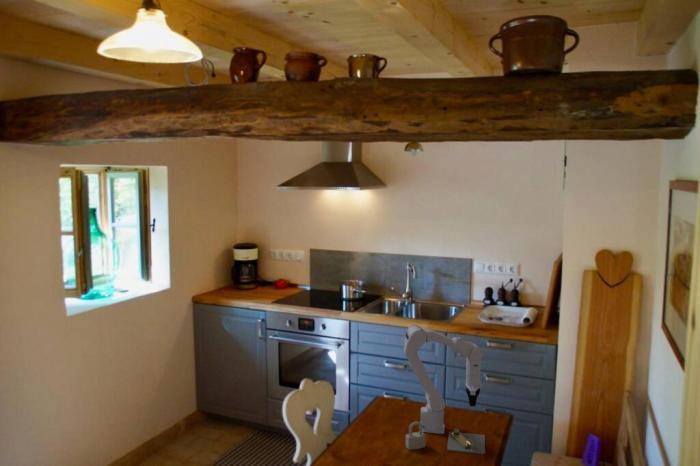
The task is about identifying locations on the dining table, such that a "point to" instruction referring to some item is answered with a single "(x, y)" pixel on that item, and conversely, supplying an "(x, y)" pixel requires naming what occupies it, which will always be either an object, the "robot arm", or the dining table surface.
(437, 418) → the robot arm
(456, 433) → the pin cap
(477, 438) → the slate board
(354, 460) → the dining table surface
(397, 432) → the dining table surface
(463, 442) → the brass link
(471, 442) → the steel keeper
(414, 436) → the grey padlock
